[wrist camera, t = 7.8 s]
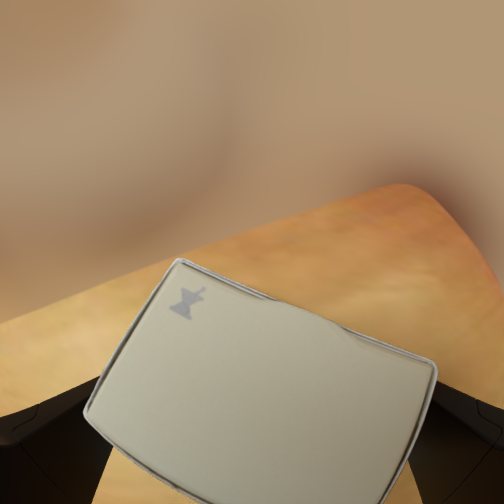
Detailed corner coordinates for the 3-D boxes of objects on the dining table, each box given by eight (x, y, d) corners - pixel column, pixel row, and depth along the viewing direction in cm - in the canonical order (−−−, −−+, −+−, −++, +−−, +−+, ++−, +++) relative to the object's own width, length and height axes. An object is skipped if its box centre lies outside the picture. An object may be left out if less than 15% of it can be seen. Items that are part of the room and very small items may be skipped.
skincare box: (200, 415, 14) (64, 406, 4) (233, 356, 16) (166, 244, 6) (297, 459, 12) (358, 554, 2) (329, 397, 14) (448, 358, 4)
